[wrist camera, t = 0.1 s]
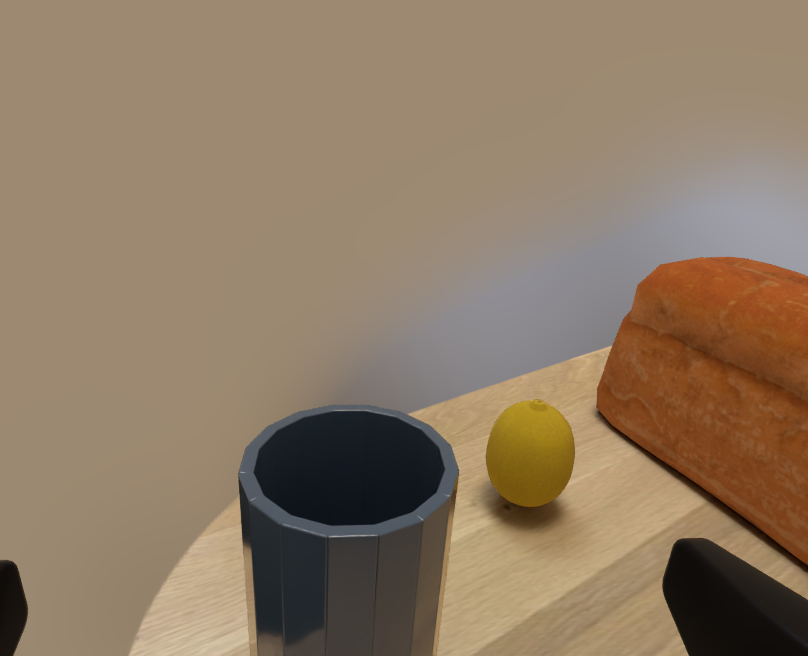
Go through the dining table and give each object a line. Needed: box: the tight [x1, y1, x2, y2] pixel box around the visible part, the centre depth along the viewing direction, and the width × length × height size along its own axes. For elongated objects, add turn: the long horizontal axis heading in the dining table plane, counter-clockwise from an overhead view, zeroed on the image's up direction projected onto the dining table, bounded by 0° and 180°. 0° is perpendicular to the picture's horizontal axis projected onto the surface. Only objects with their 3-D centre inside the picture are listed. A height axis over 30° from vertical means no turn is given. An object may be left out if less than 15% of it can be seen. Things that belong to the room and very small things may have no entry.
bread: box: [597, 257, 808, 565], centre depth 38 cm, size 14×27×15 cm, turn 24°
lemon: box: [486, 399, 575, 507], centre depth 35 cm, size 6×6×8 cm
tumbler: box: [238, 405, 459, 656], centre depth 20 cm, size 7×7×14 cm
